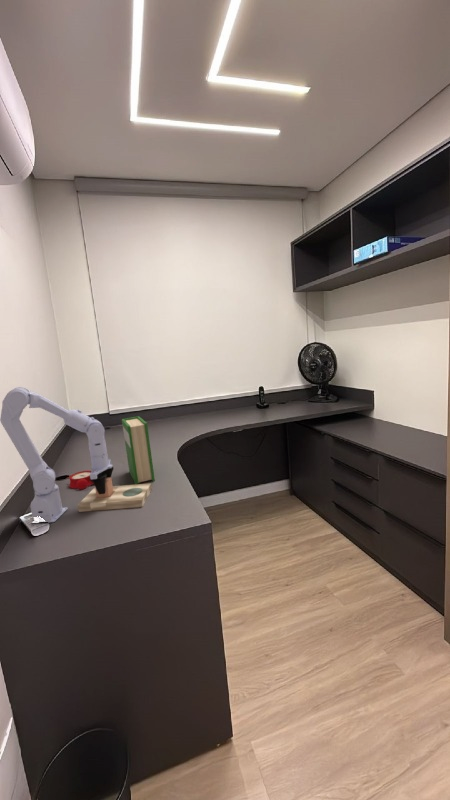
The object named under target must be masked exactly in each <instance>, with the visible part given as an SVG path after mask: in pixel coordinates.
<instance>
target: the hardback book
mask: <svg viewBox="0 0 450 800" xmlns="http://www.w3.org/2000/svg"><path fill="white" fill-rule="evenodd" d="M121 424H122V430H123V437H124V443H125V451H126V458H127V464H128V470H129V471H128V472H129V474H130V477H131V478H132V479H133V480H132V481H133V482H134V485H136V484H140V483H143V482H147V481H152V482H155V481H156V479H155V472H154V465H153V458H152V451H151V443H150V436H149V435H150V434H149V427H148V422H147V421H145V420H144V419H143V418H142V417H141V416H133V417H127V418H122V419H121Z"/></svg>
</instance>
